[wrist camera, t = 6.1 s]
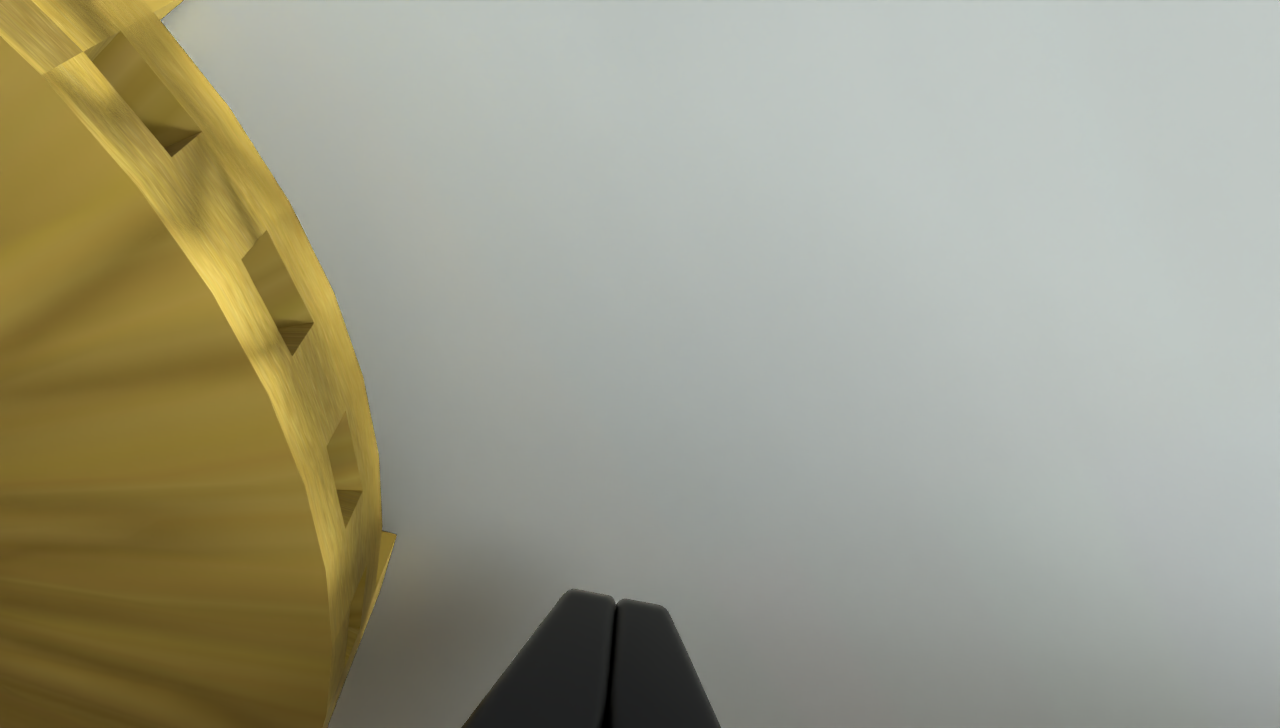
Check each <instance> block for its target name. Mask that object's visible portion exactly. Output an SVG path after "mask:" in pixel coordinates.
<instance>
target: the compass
mask: <svg viewBox="0 0 1280 728" xmlns="http://www.w3.org/2000/svg"><path fill="white" fill-rule="evenodd" d="M182 1H183V0H0V728H327V727H328V724H329V722H330V719H331V716H332V714H333V711H334V709H335V706H336V703H337V701H338V698H339V696H340V693H341V691H342V688H343V685H344V683H345V680H346V678H347V675H348V672H349V670H350V667H351V665H352V662H353V659H354V657H355V654H356V652H357V649H358V647H359V644H360V641H361V639H362V636H363V634H364V631H365V628H366V626H367V623H368V621H369V618H370V615H371V613H372V610H373V608H374V605H375V603H376V600H377V597H378V595H379V592H380V590H381V586H382V583H383V580H384V576H385V573H386V570H387V566H388V563H389V560H390V556H391V553H392V550H393V546H394V543H395V540H396V536H397V535H396V534H392V533H388V532H384V531H382V508H381V488H380V467H379V453H378V448H377V443H376V438H375V433H374V429H373V424H372V419H371V414H370V409H369V404H368V399H367V394H366V389H365V384H364V379H363V375H362V372H361V369H360V367H359V364H358V361H357V358H356V355H355V352H354V349H353V346H352V343H351V341H350V338H349V335H348V332H347V329H346V326H345V323H344V320H343V317H342V315H341V312H340V309H339V306H338V303H337V300H336V297H335V294H334V292H333V290H332V288H331V286H330V284H329V282H328V280H327V278H326V275H325V273H324V271H323V269H322V267H321V265H320V263H319V261H318V259H317V257H316V255H315V253H314V251H313V249H312V247H311V245H310V243H309V241H308V239H307V237H306V235H305V233H304V231H303V228H302V226H301V224H300V222H299V220H298V218H297V216H296V214H295V212H294V210H293V208H292V206H291V204H290V202H289V201H288V199H287V197H286V196H285V194H284V193H283V191H282V190H281V188H280V186H279V185H278V183H277V182H276V180H275V179H274V177H273V175H272V174H271V172H270V171H269V169H268V168H267V166H266V164H265V163H264V161H263V160H262V158H261V157H260V155H259V153H258V152H257V150H256V149H255V147H254V146H253V144H252V142H251V141H250V139H249V138H248V136H247V135H246V133H245V131H244V130H243V128H242V127H241V125H240V124H239V122H238V120H237V119H236V117H235V116H234V114H233V113H232V111H231V109H230V108H229V107H228V105H227V104H226V103H225V102H224V100H223V99H222V98H221V97H220V95H219V94H218V93H217V92H216V90H215V89H214V88H213V87H212V85H211V84H210V83H209V82H208V80H207V79H206V78H205V76H204V75H203V74H202V73H201V71H200V70H199V69H198V68H197V66H196V65H195V64H194V63H193V61H192V60H191V59H190V58H189V56H188V55H187V54H186V53H185V51H184V50H183V49H182V47H181V46H180V45H179V44H178V42H177V41H176V40H175V39H174V37H173V36H172V35H171V34H170V32H169V31H168V30H167V29H166V27H165V26H164V25H163V24H162V22H161V21H160V20H161V19H162V18H163V17H164V16H166V15H167V14H168V13H169V12H170V11H171V10H173V9H174V8H175V7H176V6H177V5H179V4H180V3H181V2H182Z"/></svg>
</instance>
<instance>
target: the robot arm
mask: <svg viewBox="0 0 1280 728" xmlns="http://www.w3.org/2000/svg"><path fill="white" fill-rule="evenodd" d="M461 728H721V726H720V724H719V722H718V719H717V717H716V715H715V713H714V711H713V708H712V706H711V704H710V702H709V700H708V697H707V695H706V693H705V691H704V689H703V686H702V684H701V682H700V680H699V678H698V675H697V673H696V671H695V669H694V667H693V664H692V662H691V660H690V658H689V656H688V653H687V651H686V649H685V647H684V644H683V642H682V640H681V638H680V636H679V633H678V631H677V629H676V627H675V625H674V622H673V620H672V618H671V616H670V614H669V612H668V611H667V609H666V608H664V607H663V606H661V605H657V604H651V603H646V602H641V601H636V600H630V599H622V600H620V601H619V602H618V603H617V604H615V601H614V599H613V598H612V597H611V596H609V595H604V594H599V593H593V592H588V591H583V590H577V589H571V590H568V591H567V592H566V593H564V594H563V595H562V597H561V598H560V599H559V601H558V602H557V603H556V605H555V606H554V607H553V608H552V610H551V611H550V612H549V614H548V615H547V616H546V618H545V619H544V620H543V621H542V623H541V624H540V625H539V627H538V628H537V629H536V631H535V632H534V633H533V635H532V636H531V637H530V638H529V640H528V641H527V642H526V644H525V645H524V646H523V648H522V649H521V650H520V651H519V653H518V654H517V655H516V657H515V658H514V659H513V661H512V662H511V663H510V665H509V666H508V667H507V668H506V670H505V671H504V672H503V674H502V675H501V676H500V678H499V679H498V680H497V682H496V683H495V684H494V685H493V687H492V688H491V689H490V691H489V692H488V693H487V695H486V696H485V697H484V698H483V700H482V701H481V702H480V704H479V705H478V706H477V708H476V709H475V710H474V712H473V713H472V714H471V715H470V717H469V718H468V719H467V721H466V722H465V723H464V725H463V726H462V727H461Z"/></svg>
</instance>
